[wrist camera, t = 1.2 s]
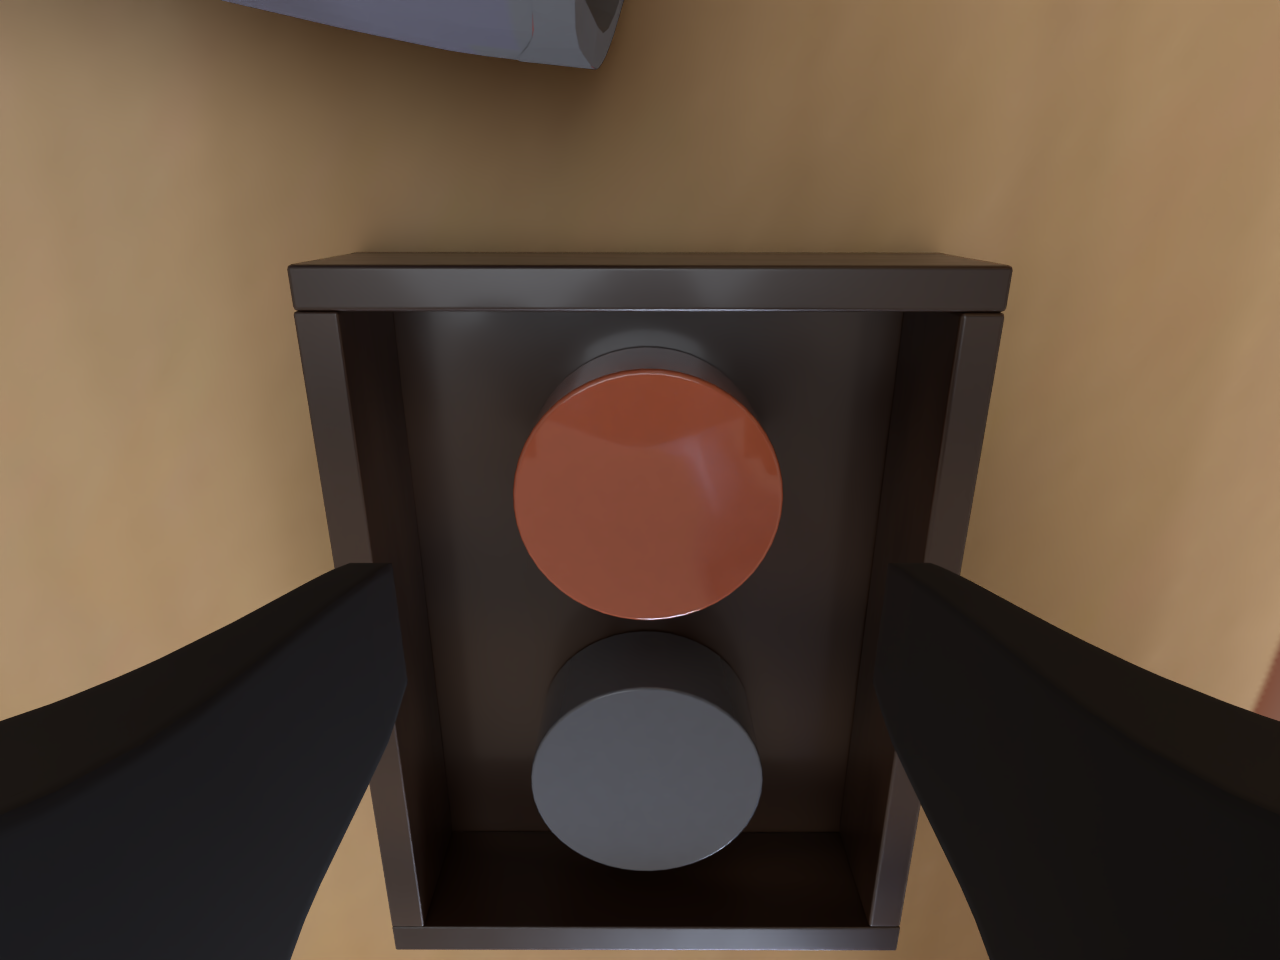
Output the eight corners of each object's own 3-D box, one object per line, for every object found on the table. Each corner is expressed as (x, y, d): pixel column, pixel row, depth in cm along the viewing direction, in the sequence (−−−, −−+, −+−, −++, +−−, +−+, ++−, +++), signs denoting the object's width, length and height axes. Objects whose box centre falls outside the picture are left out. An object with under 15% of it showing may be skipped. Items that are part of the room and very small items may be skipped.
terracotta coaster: (812, 478, 17) (837, 519, 15) (632, 610, 19) (631, 666, 16) (663, 293, 16) (667, 308, 14) (479, 450, 17) (455, 487, 15)
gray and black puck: (790, 729, 20) (809, 797, 18) (633, 830, 21) (632, 905, 19) (660, 590, 18) (663, 645, 16) (500, 708, 20) (482, 773, 17)
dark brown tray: (859, 841, 22) (896, 951, 19) (431, 841, 22) (395, 950, 19) (940, 252, 16) (1015, 265, 13) (355, 252, 16) (284, 264, 13)
